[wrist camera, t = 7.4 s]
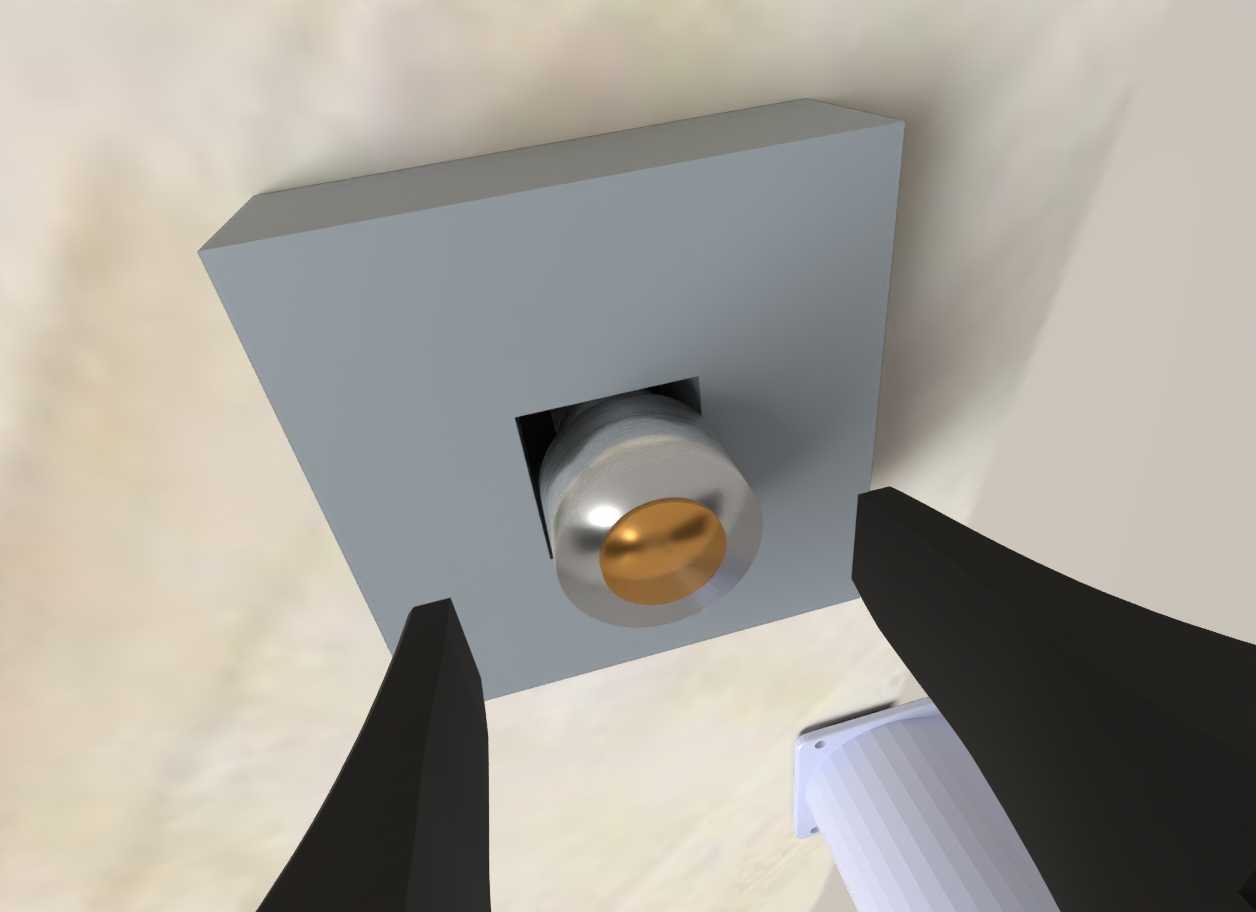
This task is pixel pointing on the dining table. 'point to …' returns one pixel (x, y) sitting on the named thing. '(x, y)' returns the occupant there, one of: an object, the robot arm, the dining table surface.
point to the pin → (644, 510)
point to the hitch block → (576, 355)
